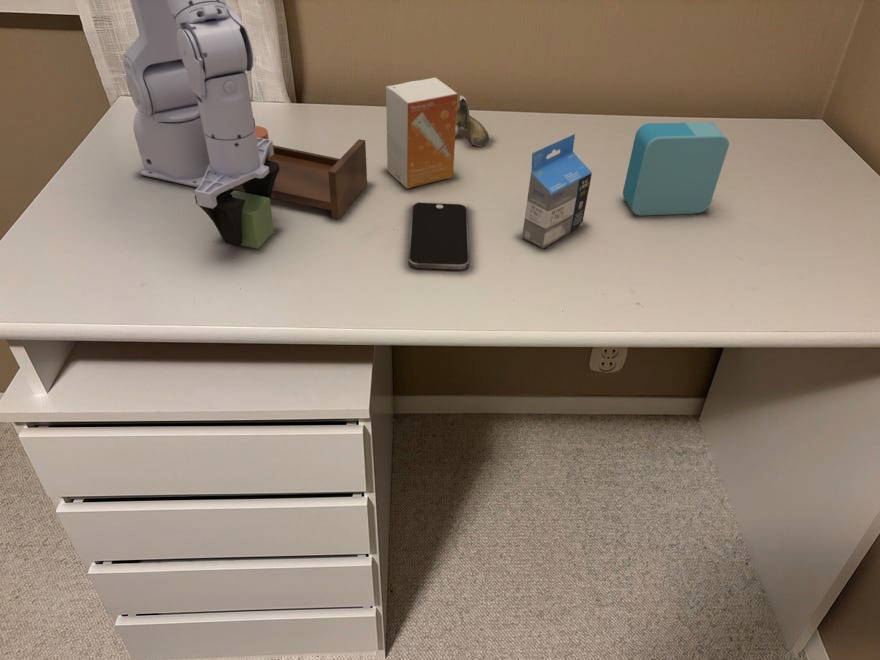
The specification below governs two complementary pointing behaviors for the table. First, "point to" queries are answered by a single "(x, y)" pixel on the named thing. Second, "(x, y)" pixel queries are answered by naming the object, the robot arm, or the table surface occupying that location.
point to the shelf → (320, 178)
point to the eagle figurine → (470, 125)
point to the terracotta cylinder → (262, 135)
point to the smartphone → (439, 236)
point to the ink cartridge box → (555, 194)
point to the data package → (674, 168)
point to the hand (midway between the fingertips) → (247, 229)
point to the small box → (420, 131)
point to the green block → (255, 219)
